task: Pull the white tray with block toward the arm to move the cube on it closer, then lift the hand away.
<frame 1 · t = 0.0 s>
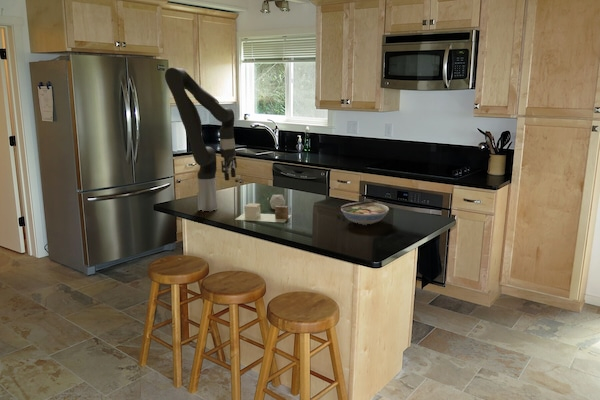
hand: (230, 178, 268), 17 cm above the worktop, tool pointing down, fingers open, 8 cm apart
ramen bowl: (364, 223, 246), on the worktop
white tray with block: (263, 212, 255), point 3 cm above the worktop, slide at 0.0 cm, touching cube
die: (277, 209, 273), on the worktop
cube: (252, 216, 257), point 1 cm above the worktop, touching white tray with block
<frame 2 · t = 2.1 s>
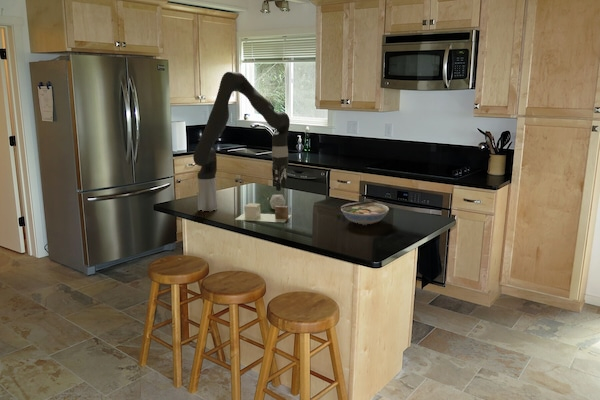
hand: (281, 188, 250), 16 cm above the worktop, tool pointing down, fingers open, 8 cm apart
nothing on the worktop moved.
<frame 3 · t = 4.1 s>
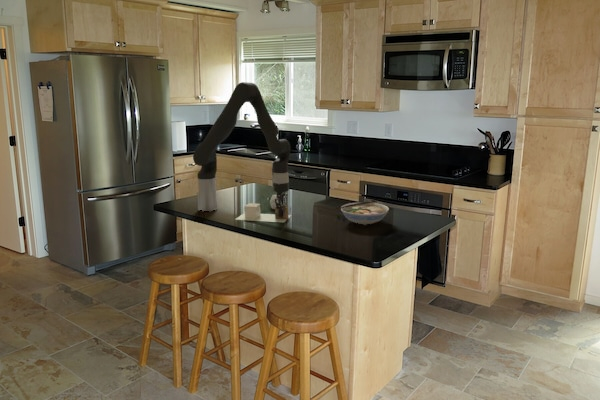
hand: (281, 215, 253), 2 cm above the worktop, tool pointing down, fingers closed on white tray with block, 2 cm apart
white tray with block: (263, 212, 255), point 4 cm above the worktop, slide at 0.0 cm, touching cube, gripper
everything else where it was.
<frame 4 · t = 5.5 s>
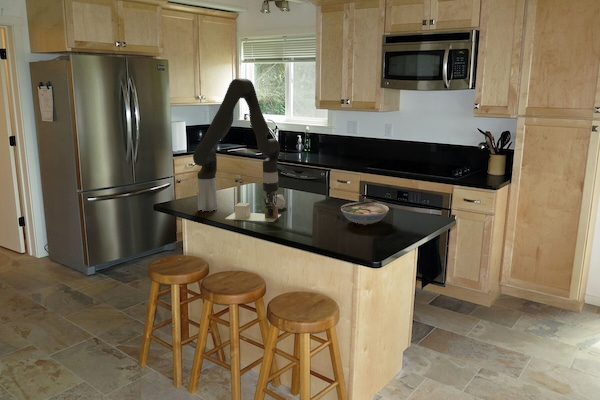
hand: (271, 215, 254), 2 cm above the worktop, tool pointing down, fingers closed on white tray with block, 2 cm apart
white tray with block: (253, 211, 256), point 4 cm above the worktop, slide at 5.3 cm, touching cube, gripper
cube: (242, 216, 258), point 1 cm above the worktop, touching white tray with block
everything else where it was.
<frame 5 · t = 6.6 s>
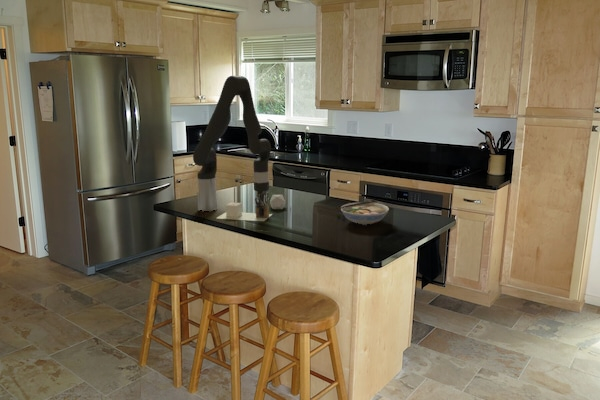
hand: (262, 214, 255), 2 cm above the worktop, tool pointing down, fingers closed on white tray with block, 2 cm apart
white tray with block: (244, 211, 258), point 4 cm above the worktop, slide at 9.9 cm, touching cube, gripper
cube: (234, 215, 260), point 1 cm above the worktop, touching white tray with block
everything else where it was.
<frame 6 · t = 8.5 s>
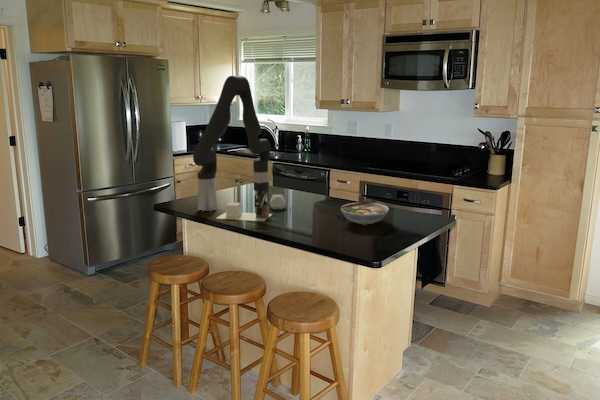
hand: (262, 212, 255), 3 cm above the worktop, tool pointing down, fingers open, 8 cm apart
white tray with block: (244, 211, 258), point 3 cm above the worktop, slide at 10.0 cm, touching cube
everything else where it was.
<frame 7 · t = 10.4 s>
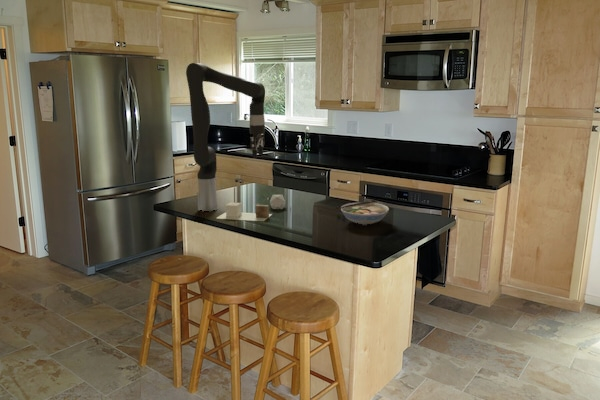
hand: (257, 156, 262), 29 cm above the worktop, tool pointing down, fingers open, 8 cm apart
nothing on the worktop moved.
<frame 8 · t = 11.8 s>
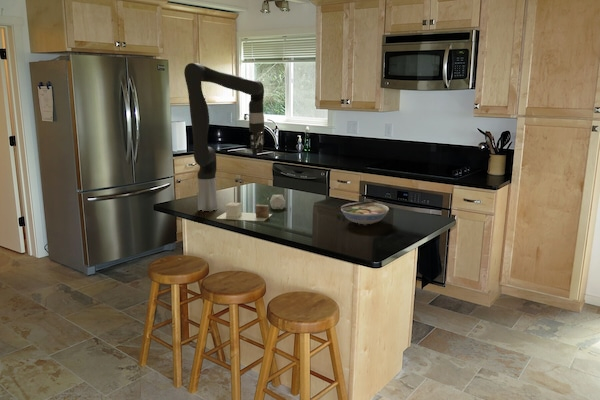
hand: (257, 154, 263), 30 cm above the worktop, tool pointing down, fingers open, 8 cm apart
nothing on the worktop moved.
at the end: white tray with block slide at 10.0 cm; cube inside the target area (1.0 cm from its centre), point 0.8 cm above the worktop; cube tilted 0° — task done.
